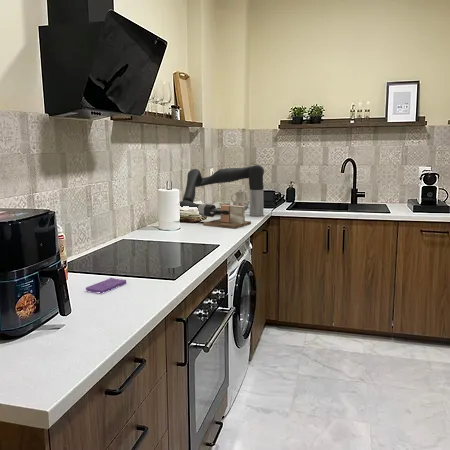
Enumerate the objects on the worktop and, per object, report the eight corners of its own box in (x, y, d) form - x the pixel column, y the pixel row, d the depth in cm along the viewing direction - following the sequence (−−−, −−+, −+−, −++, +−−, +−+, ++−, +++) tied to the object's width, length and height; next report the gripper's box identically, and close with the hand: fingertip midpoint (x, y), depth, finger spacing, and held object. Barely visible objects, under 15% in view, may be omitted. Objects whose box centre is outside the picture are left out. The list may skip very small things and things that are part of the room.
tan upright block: (224, 220, 277) (223, 204, 275) (232, 221, 273) (232, 205, 272) (220, 221, 274) (220, 205, 272) (229, 222, 271) (229, 206, 269)
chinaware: (244, 208, 350) (243, 186, 349) (259, 208, 338) (258, 186, 336) (215, 212, 333) (214, 189, 331) (230, 212, 320) (228, 188, 318)
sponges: (126, 285, 161) (126, 279, 161) (101, 295, 150) (101, 290, 150) (111, 282, 164) (110, 277, 164) (85, 292, 153) (85, 287, 153)
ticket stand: (220, 220, 287) (220, 202, 285) (251, 223, 275) (251, 204, 273) (203, 225, 272) (203, 206, 270) (234, 228, 260) (234, 208, 258)
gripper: (213, 214, 287) (237, 217, 277) (199, 218, 275) (223, 220, 266) (213, 202, 286) (236, 204, 276) (199, 205, 274) (223, 207, 265)
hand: (230, 212), depth 271 cm, fingers open, 3 cm apart
